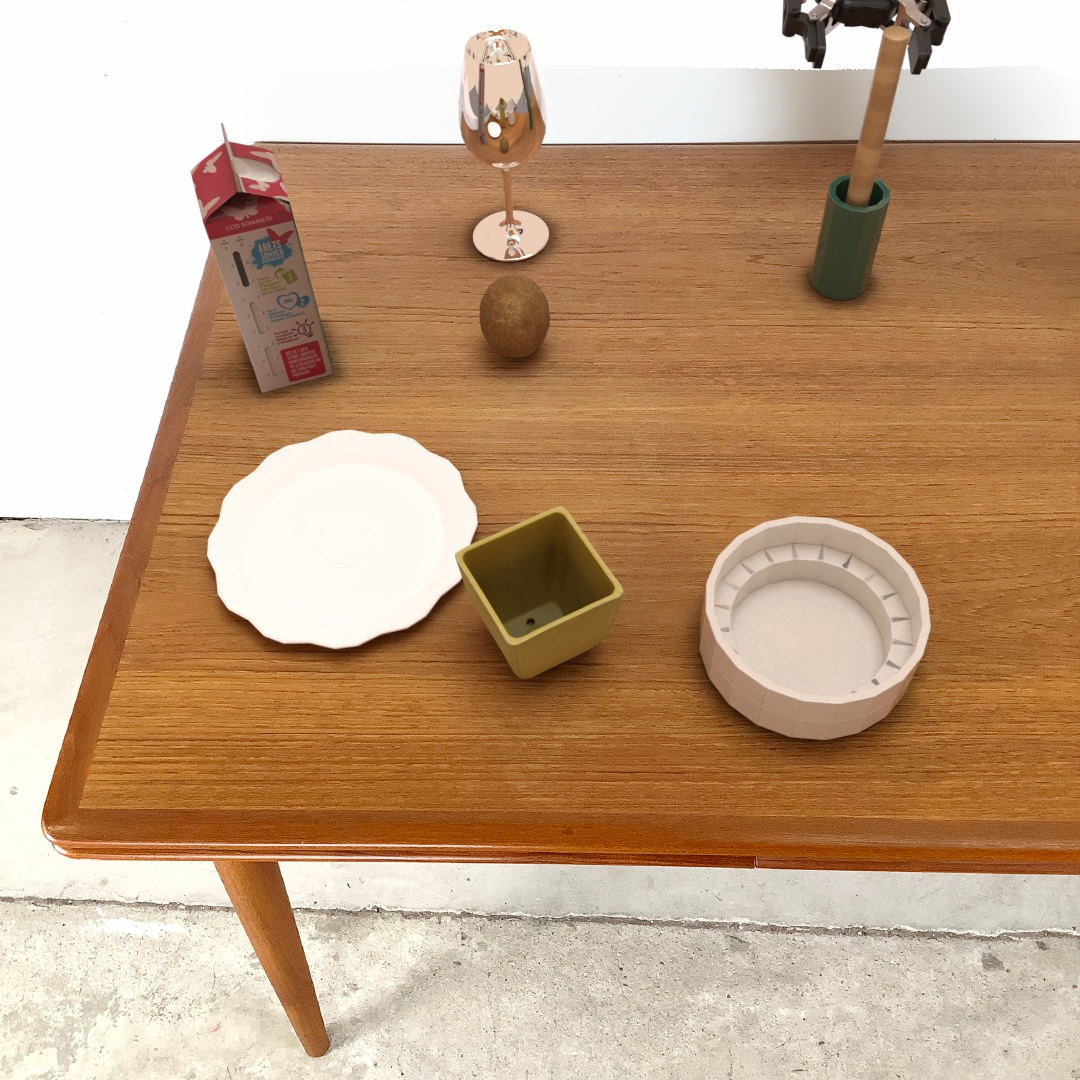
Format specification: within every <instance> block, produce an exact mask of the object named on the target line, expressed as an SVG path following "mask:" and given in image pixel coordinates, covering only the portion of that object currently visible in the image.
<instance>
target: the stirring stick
mask: <svg viewBox="0 0 1080 1080" xmlns="http://www.w3.org/2000/svg"><path fill="white" fill-rule="evenodd" d="M909 37H910V33H909V31H908V30H907V29H906V28H903V27H900V26H890V27H887V28H886V29H885V30H884V31H883V30H882V34H881V38H880V43H879V48H878V53H877V57H876V61H875V66H874V70H873V75H872V79H871V84H870V89H869V93H868V98H867V102H866V106H865V111H864V115H863V120H862V126H861V129H860V133H859V138H858V142H857V147H856V152H855V156H854V159H853V165H852V170H851V173H850V174H851V178H850V182H849V187H848V191H847V196H846V200H845V203H846V204H848V205H850V206H853V207H863V208H865V207H868V205H869V201H870V196H871V192H872V188H873V184H874V180H875V178H876V175H877V171H878V167H879V164H880V159H881V155H882V151H883V147H884V143H885V139H886V135H887V131H888V127H889V124H890V123H889V122H890V118H891V114H892V110H893V106H894V102H895V97H896V94H897V90H898V87H899V86H898V85H899V82H900V78H901V72H902V69H903V65H904V61H905V57H906V52H907V49H908V41H909Z"/></svg>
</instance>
